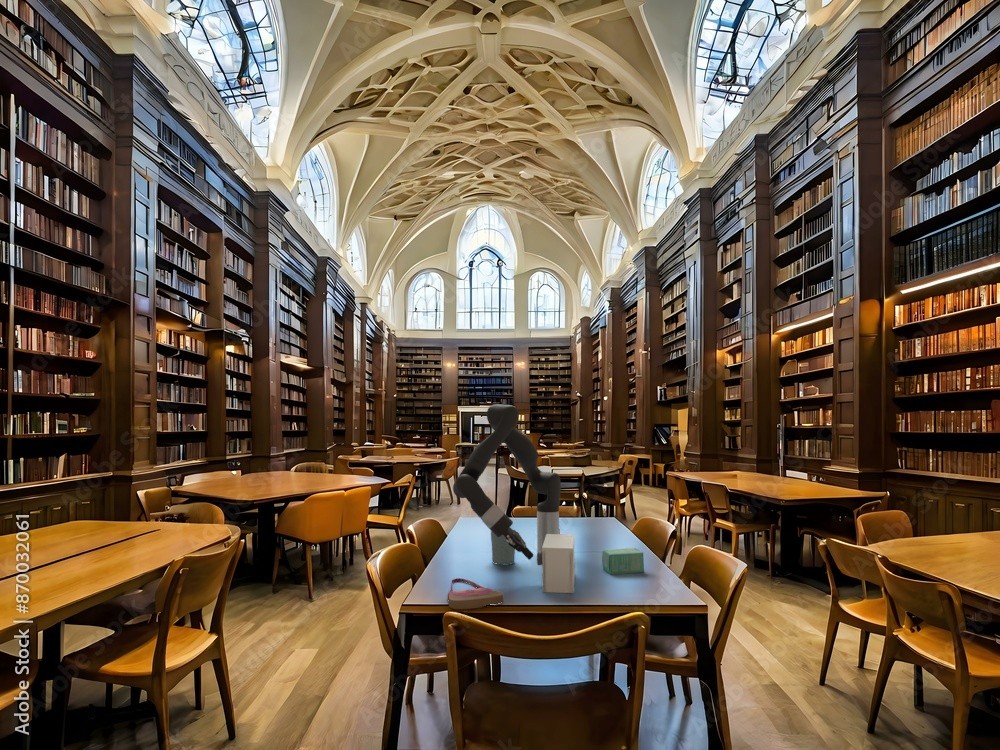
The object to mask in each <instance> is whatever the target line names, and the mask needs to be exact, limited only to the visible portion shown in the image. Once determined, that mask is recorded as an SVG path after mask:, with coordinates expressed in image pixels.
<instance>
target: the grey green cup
mask: <svg viewBox="0 0 1000 750" xmlns="http://www.w3.org/2000/svg"><path fill="white" fill-rule="evenodd" d="M505 539H506V538H505V537H504V535H501V536H500V537H499V538H498V537H497V536H496V535H495V534H494V533H493V532H492V531H491V530H490V540H491V553H492V555H491V556H492V557H491V558H492V559H491V561H493V562H494V563H497V564H510V563H513V562H514V563H515V556H516V555H515V553H516V550H515V549H514V548H513V547H511V546H510V545H509V544H508V542H507V541H506V540H505ZM493 562H492V563H493ZM494 563H493V564H494ZM514 563H513V564H514ZM497 564H496V565H497ZM510 565H511V564H510Z"/></svg>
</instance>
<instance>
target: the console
mask: <svg viewBox="0 0 1000 750" xmlns="http://www.w3.org/2000/svg"><path fill="white" fill-rule="evenodd" d="M575 560H576V559H575V534H562V533H560V534H546V537H545V540H544V543H543V546H542V565H541V566H542V567H541V568H542V569H541V570H542V571H541V572H542V573H541V577H542V579H541V580H542V584H541V585H542V593H559V594H560V593H561V594H562V593H563V594H574V593H575V578H576V577H575V576H576V572H575V571H576V569H575V568H576V566H575V564H576V562H575Z"/></svg>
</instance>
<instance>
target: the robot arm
mask: <svg viewBox="0 0 1000 750" xmlns="http://www.w3.org/2000/svg"><path fill="white" fill-rule="evenodd" d="M519 417H520V415H519V410H518V408H517V407H516V406H515V405H510V404H499V403H498V404H492V405H490V406H489V407H488V409H487V410H486V420H487V422H488V424H489V426H490V427H491V428H492V430H493V432H492V433H490V435H489V436H487V437H486V438H485V439H483V441H481V442H480V443H478V445H477V446H475V448H474V449H473V450H472V452H471V454H470V456H469V457H468V459H467V461H466V463H465V465H464V468H463V469H462V470H461V472H460V473H459V475H458V477H457V478H456V480H455V481H454V484H453V487H452V489H453V490H452V491H453V493H454V495H455V496H456V497H457V498H459V499H466V501H468V502H469V504H470V508H471V510H472V511H473V512H474V513H475V514H476V515H477V516H478V518H480V520H481V521H482V523H484V525H485V526H486V527H487V528H488V529H489V530H490V532H491V531H492V532H493V533H494V534H495V535H496V536H497V537H498V538H499V537H500V536H501V535H504V537H505V538H506V539H505V540H506V541H507V542H508V544H509V545H510V546H511V547H513V548H514V549H515V551H517V552H518V553H522V554H523V556H524V557H525V558H526V559H528V561H530V560H532V558H533V557H534V553H533V551H531V550H530V549H529V548H528V547H527V545H526V544H527V543H526V542H525V540H524V539H523V538H522V536H521V535H520V532H518V531H517V530H516V529H513V528H511V527H512V525H513V524H514V522H513V520H512V519H511V518H510V517H509V516H508V515H507V514H506V513H505V512H504V511H503V510H502V508H500V506H498V505H496V504H495V502H494V501H493V500H492V499H491V498H490V497H489V496H487V495H486V493H485V491H484V490H483V488H482V487H481V486H480V484H479V482H478V481H479V478H480V477H481V475H482V474H483V473H484V471H485V470H486V468H487V466H488V465H489V462H491V459H492V457H493V456H494V455H495V453H496V451H497V450H498V449H499V447H501V445H502V444H503V443H504V444H505V446H506V447H507V449H508V450H509V451H510V453H511V454H512V455H513V458H514V459H515V460H516V461H517V463H518V464H519V466H520V467H521V469H522V470H523V472H524V473H525V475H526V477H527V479H528V481H529V482H530V483H529V484H530V485H531V487H532V489H533V490H534V492H536V493H538V494H541V495H546V500H544V501H542V502H538V503H537V505H536V527H537V528H536V535H537V537H536V540H537V541H536V543H537V544H536V545H537V551H536V552H538V551H542V546H543V543H544V540H545V537H546V534H561V528H560V504H561V478H560V475H559V474H558V473H557V472H547V471H542V470H541V469H539V467H538V465H537V464H538V460H539V459H538V458H539V452H538V450H537V448H536V446H535V445H534V442H533V441H532V440H531V439H530V438H529V437H528V436H527V435H525V434H524V433H523V432H521V431H520V430H518V429H517V428H515V427H516V426H517V424H518V421H519Z"/></svg>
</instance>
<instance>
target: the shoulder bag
mask: <svg viewBox="0 0 1000 750" xmlns="http://www.w3.org/2000/svg"><path fill="white" fill-rule="evenodd" d="M455 581H463V582H462V583H464V582H467V583H466V584H468V583H470V584H472V585H474V586H475V587H474V586H473V587H474V588H469V589H462V590H461V589H459V590H453V584H454V583H456V582H455ZM453 582H454V583H453ZM450 584H451V585H450V586H451V587H452V588H451V589H450V590H449V591H448V592H447V601H448V600H449V602H448V607H449V608H450V609H454V610H469V609H477V608H483V607H482V606H486V605H490V604H498V603H501V602H503V603H504V594H503V592H501V591H497V590H496V589H492V588H489V587H484V586H482V585H480V584H478V583H476V582H474V581H472V580H468V579H465V578H457V577H456V578H454V579H452V580H451V583H450ZM470 584H469V585H470ZM472 585H471V586H472ZM476 587H477V588H476Z"/></svg>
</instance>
